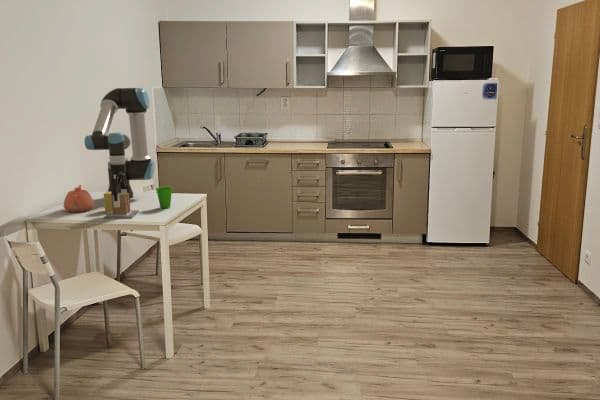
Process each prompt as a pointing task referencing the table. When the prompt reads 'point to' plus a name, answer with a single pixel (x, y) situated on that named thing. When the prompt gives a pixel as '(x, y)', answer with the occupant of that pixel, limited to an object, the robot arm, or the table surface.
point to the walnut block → (121, 204)
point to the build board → (129, 215)
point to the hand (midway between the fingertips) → (120, 204)
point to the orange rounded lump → (78, 200)
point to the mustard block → (108, 201)
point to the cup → (164, 196)
